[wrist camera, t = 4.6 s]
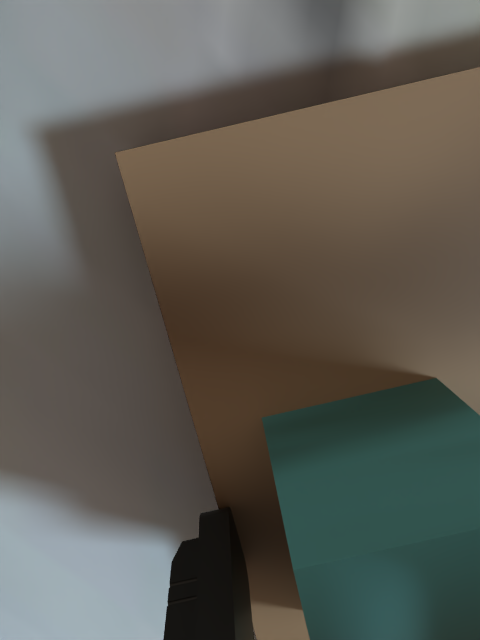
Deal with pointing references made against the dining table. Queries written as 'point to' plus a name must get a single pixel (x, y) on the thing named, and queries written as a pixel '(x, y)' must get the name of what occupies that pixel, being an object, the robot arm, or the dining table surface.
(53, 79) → the dining table surface
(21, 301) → the dining table surface
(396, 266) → the wooden base with cube
